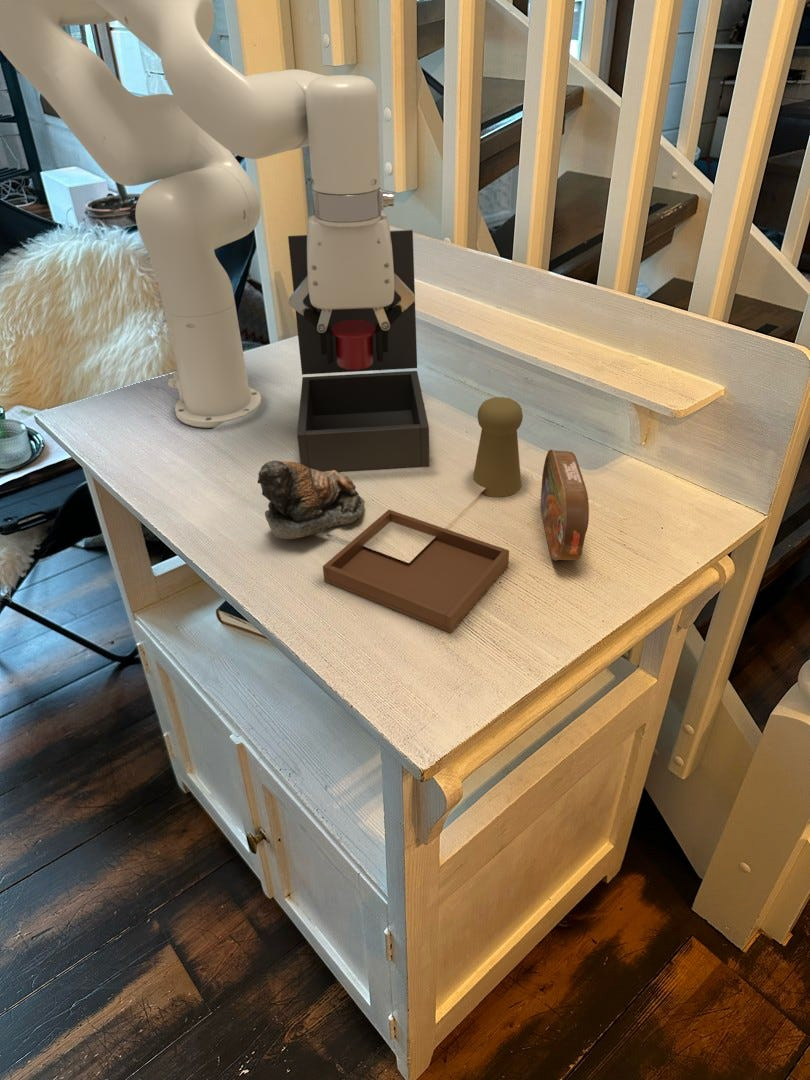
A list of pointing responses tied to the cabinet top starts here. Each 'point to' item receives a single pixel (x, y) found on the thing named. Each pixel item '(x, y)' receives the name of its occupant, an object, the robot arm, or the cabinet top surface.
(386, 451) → the pod bay
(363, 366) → the coffee pod
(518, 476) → the olive pawn piece
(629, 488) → the cabinet top surface
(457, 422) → the cabinet top surface
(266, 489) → the bison figurine
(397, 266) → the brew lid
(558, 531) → the tin
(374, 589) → the tray
